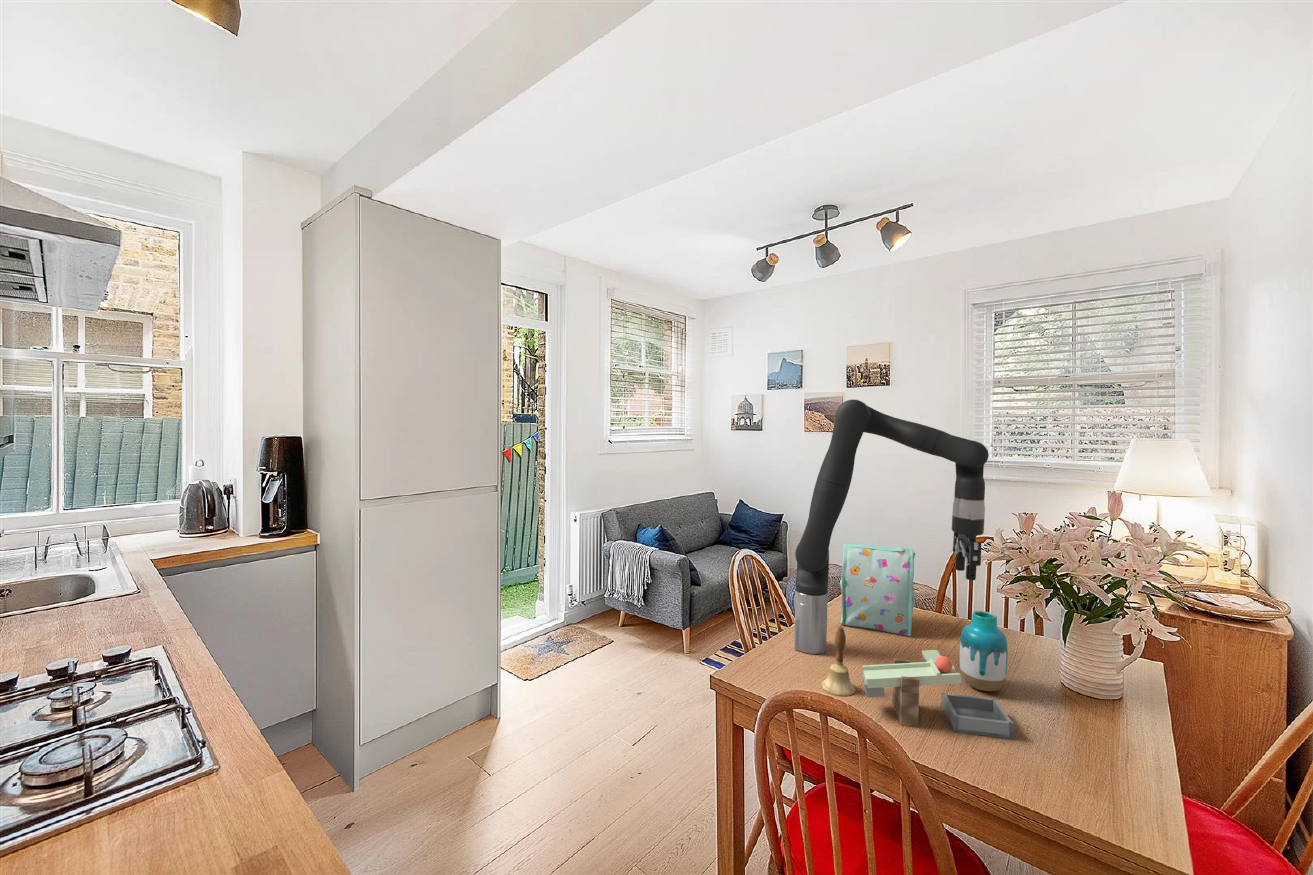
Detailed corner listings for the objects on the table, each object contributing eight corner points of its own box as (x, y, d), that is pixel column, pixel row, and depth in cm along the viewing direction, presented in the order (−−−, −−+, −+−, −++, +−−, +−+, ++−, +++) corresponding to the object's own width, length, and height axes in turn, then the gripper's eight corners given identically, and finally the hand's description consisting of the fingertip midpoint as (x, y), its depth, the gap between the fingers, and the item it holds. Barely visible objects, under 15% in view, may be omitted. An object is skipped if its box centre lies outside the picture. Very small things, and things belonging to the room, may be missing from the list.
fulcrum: (900, 724, 125) (902, 678, 124) (892, 701, 135) (893, 658, 134) (918, 727, 124) (919, 680, 123) (908, 703, 134) (909, 659, 134)
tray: (954, 731, 122) (954, 716, 122) (941, 706, 133) (941, 692, 132) (1012, 739, 120) (1013, 723, 119) (995, 713, 130) (995, 698, 130)
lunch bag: (913, 621, 186) (915, 542, 185) (914, 639, 171) (916, 554, 170) (842, 610, 196) (843, 535, 194) (837, 627, 181) (838, 546, 179)
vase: (990, 702, 135) (992, 625, 134) (949, 682, 144) (951, 610, 143) (1015, 692, 140) (1018, 617, 139) (974, 674, 149) (977, 604, 148)
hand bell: (857, 684, 143) (858, 623, 143) (853, 699, 136) (855, 635, 135) (824, 677, 147) (825, 618, 146) (819, 691, 139) (820, 629, 139)
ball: (938, 675, 126) (936, 660, 126) (934, 668, 129) (932, 653, 129) (955, 675, 125) (953, 659, 125) (950, 668, 128) (949, 653, 128)
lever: (867, 698, 128) (863, 677, 128) (858, 667, 143) (855, 648, 143) (963, 694, 123) (960, 672, 123) (944, 663, 138) (941, 643, 138)
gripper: (944, 509, 155) (941, 566, 156) (961, 519, 141) (958, 581, 142) (974, 511, 154) (970, 568, 155) (994, 521, 140) (990, 584, 141)
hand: (965, 574), depth 149 cm, fingers open, 8 cm apart
